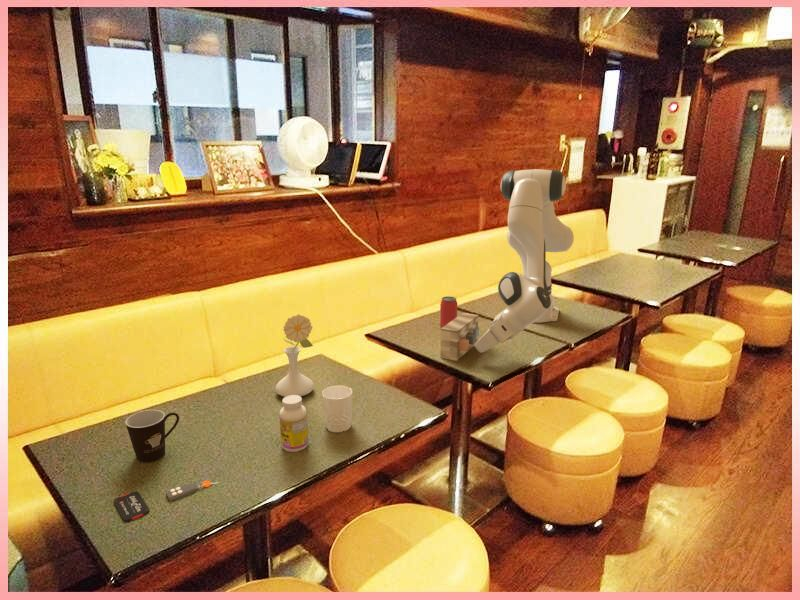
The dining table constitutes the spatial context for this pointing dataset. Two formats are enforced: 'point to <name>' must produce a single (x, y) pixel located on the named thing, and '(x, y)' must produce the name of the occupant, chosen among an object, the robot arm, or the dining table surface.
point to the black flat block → (131, 506)
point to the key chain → (185, 490)
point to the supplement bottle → (293, 424)
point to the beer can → (447, 310)
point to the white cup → (337, 408)
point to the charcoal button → (471, 338)
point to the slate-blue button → (476, 331)
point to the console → (457, 335)
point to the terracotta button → (463, 344)
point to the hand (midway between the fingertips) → (477, 347)
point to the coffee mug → (148, 434)
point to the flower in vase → (294, 381)
